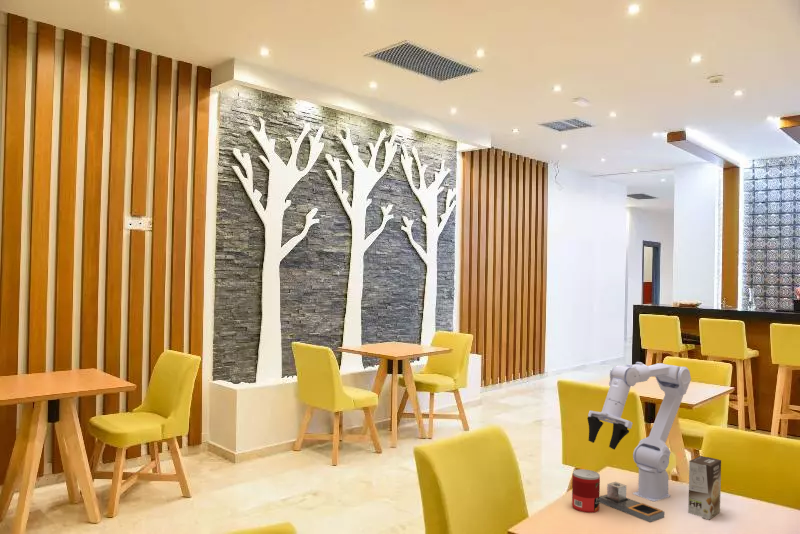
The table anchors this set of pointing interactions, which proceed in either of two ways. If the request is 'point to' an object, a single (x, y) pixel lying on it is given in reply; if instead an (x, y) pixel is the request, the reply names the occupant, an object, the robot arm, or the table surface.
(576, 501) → the canned food
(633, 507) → the rail
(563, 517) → the table surface
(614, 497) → the silver square slider
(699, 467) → the coffee box
